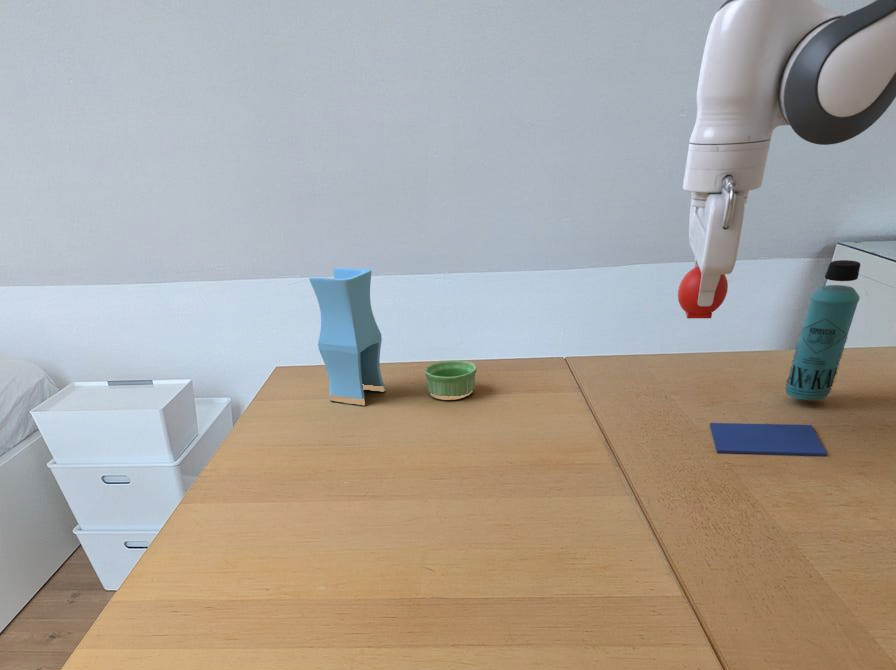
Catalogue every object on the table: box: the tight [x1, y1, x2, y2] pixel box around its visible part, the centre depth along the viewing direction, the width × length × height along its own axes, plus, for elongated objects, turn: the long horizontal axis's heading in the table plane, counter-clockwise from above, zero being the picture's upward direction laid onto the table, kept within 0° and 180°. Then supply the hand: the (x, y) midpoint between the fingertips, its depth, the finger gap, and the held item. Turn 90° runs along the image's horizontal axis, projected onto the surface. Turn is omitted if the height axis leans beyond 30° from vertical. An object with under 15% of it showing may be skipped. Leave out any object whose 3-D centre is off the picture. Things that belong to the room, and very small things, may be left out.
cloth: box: [709, 422, 828, 457], centre depth 100 cm, size 14×10×1 cm
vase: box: [308, 267, 385, 399], centre depth 119 cm, size 8×8×20 cm
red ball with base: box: [677, 266, 729, 319], centre depth 90 cm, size 6×6×7 cm
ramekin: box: [424, 359, 477, 397], centre depth 122 cm, size 9×9×4 cm
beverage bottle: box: [784, 259, 861, 401], centre depth 104 cm, size 6×7×20 cm
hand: (701, 297), depth 91 cm, fingers closed on red ball with base, 6 cm apart
